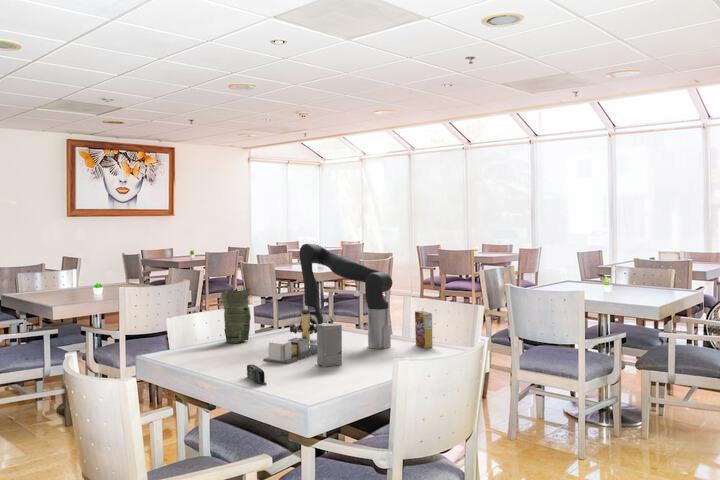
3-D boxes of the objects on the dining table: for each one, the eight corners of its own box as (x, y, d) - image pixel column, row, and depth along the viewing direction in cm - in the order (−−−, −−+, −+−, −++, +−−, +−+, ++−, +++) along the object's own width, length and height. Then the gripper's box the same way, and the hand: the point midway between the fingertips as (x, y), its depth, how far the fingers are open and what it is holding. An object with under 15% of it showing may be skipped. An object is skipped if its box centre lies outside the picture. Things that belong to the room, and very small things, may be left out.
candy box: (414, 344, 272) (414, 311, 272) (423, 343, 274) (422, 310, 273) (424, 348, 264) (424, 313, 264) (432, 347, 266) (432, 313, 265)
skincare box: (323, 367, 231) (322, 326, 230) (316, 363, 237) (315, 323, 237) (343, 364, 235) (342, 324, 234) (335, 361, 241) (335, 321, 241)
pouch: (219, 342, 281) (218, 289, 280) (234, 338, 292) (233, 286, 291) (239, 344, 276) (239, 290, 276) (254, 339, 287) (253, 287, 287)
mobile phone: (245, 364, 218) (259, 371, 205) (253, 363, 219) (268, 370, 206) (245, 377, 218) (260, 386, 205) (253, 376, 219) (268, 385, 206)
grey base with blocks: (310, 346, 271) (309, 331, 271) (332, 348, 265) (332, 334, 265) (263, 360, 243) (263, 344, 243) (287, 364, 237) (287, 347, 237)
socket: (277, 356, 247) (277, 339, 247) (291, 358, 243) (291, 341, 243) (269, 359, 242) (268, 342, 242) (282, 361, 239) (282, 344, 239)
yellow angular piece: (304, 348, 261) (304, 309, 260) (312, 349, 259) (311, 309, 258) (275, 357, 244) (275, 315, 243) (283, 358, 242) (283, 316, 241)
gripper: (293, 316, 272) (288, 322, 256) (324, 316, 272) (321, 322, 256) (293, 333, 272) (288, 340, 256) (324, 332, 272) (322, 339, 256)
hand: (305, 331), depth 256 cm, fingers open, 8 cm apart
